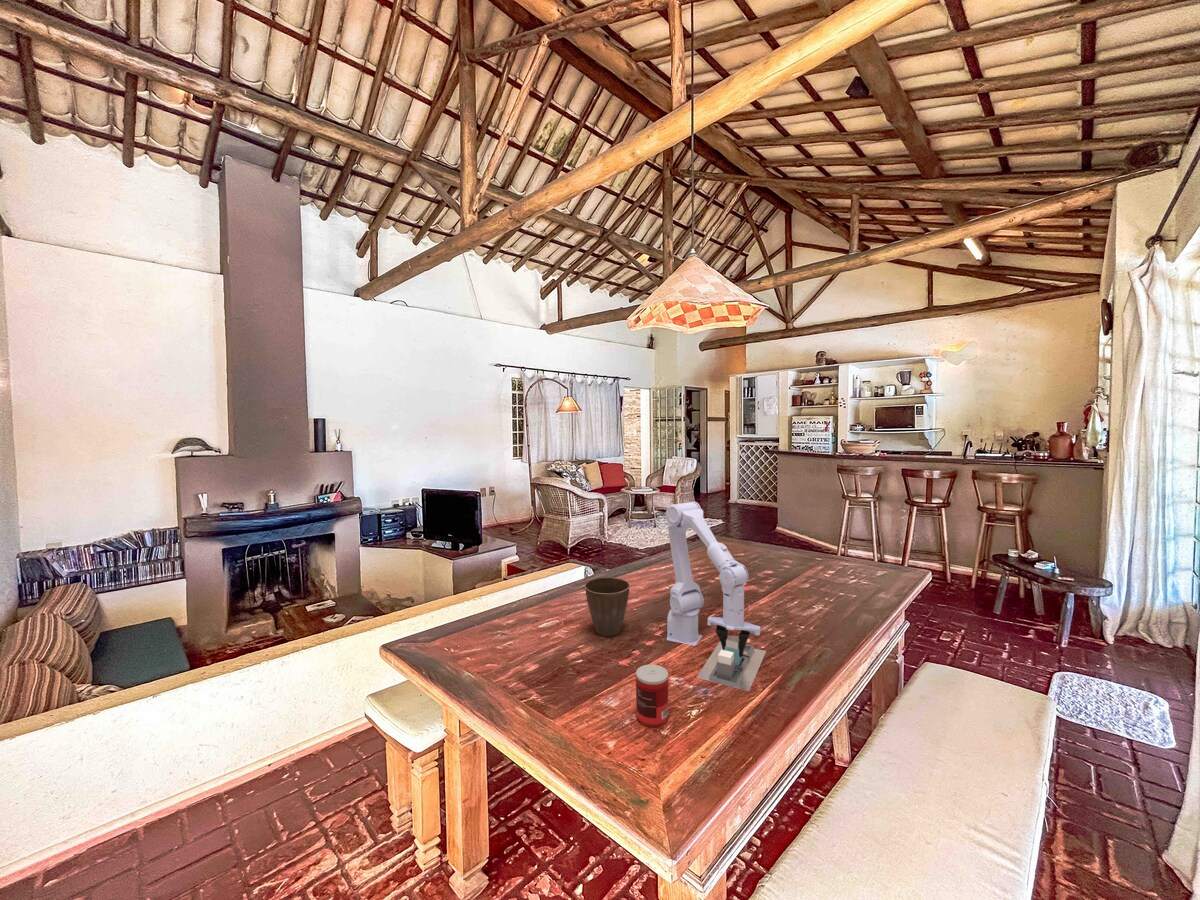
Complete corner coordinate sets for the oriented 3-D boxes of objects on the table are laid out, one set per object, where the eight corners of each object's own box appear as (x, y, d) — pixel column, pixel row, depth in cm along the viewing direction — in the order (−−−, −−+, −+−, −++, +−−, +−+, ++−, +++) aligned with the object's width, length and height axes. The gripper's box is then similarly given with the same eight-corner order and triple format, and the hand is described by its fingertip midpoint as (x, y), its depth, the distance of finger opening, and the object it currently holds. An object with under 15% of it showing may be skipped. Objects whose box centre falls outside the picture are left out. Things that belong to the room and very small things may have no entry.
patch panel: (696, 678, 130) (696, 673, 130) (720, 642, 151) (720, 637, 151) (748, 692, 123) (748, 687, 123) (766, 652, 144) (766, 647, 144)
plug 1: (724, 662, 136) (724, 640, 136) (728, 656, 140) (728, 634, 139) (738, 665, 134) (738, 643, 134) (742, 659, 138) (742, 637, 137)
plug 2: (716, 678, 129) (716, 655, 129) (720, 671, 133) (720, 648, 132) (731, 682, 127) (731, 658, 127) (735, 675, 131) (735, 652, 130)
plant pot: (626, 644, 150) (626, 594, 149) (580, 640, 153) (580, 591, 152) (632, 624, 165) (632, 578, 164) (590, 620, 168) (590, 576, 167)
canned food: (665, 706, 118) (665, 663, 117) (671, 727, 110) (671, 681, 109) (634, 707, 118) (634, 664, 117) (638, 728, 110) (637, 682, 109)
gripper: (704, 607, 136) (704, 653, 137) (756, 617, 129) (756, 666, 130) (711, 599, 142) (711, 643, 143) (762, 608, 135) (761, 654, 136)
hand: (733, 653), depth 137 cm, fingers closed on plug 1, 4 cm apart
